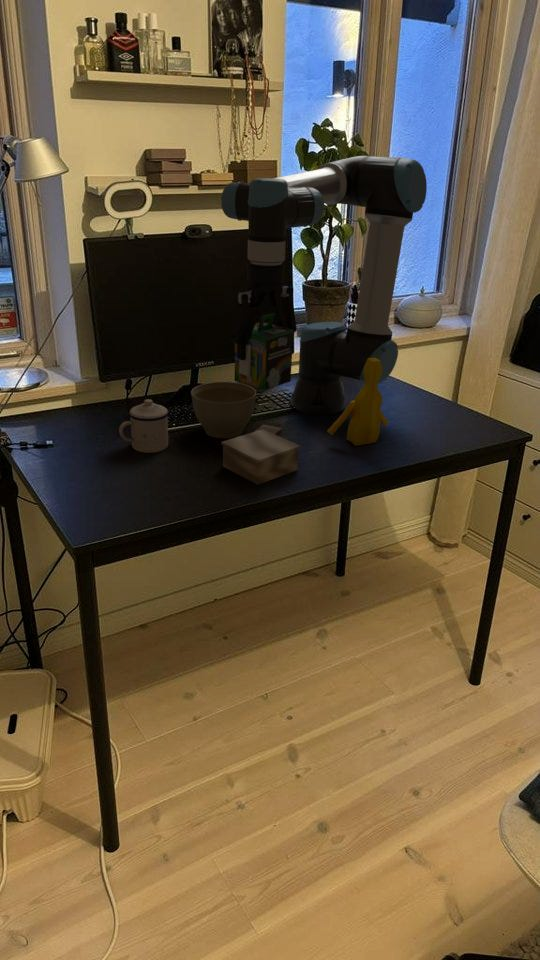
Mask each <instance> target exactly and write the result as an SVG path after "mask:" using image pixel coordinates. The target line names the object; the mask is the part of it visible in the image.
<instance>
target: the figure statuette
mask: <svg viewBox="0 0 540 960" xmlns="http://www.w3.org/2000/svg"><path fill="white" fill-rule="evenodd" d="M363 373H364V378H365V383H364V384H363V386H362V387H361V388H360V390H359V391H358V393H357V394H356V396H355V398H353V400H351V401H350V402H349V403H348V405H347V406H346V408H345V409H344V410H343V411H342V414H341V415H340V416H339V417H338V418H337V419H336V420H335V421H334V422H333V424H332V425H331V426H330V427H329V428H328V429H327V430H326V431H327V432H328V434H330V435H332V436H333V435H334V434H335V433H336V431H337V430H338V429H339V428H340V427H341V426H342V424H344V422H345V421H346V420H347V419H348V417H349V416H350V421H349V424H348V427H347V432H346V433H347V434H346V440H347V441H348V442H350V443H351V444H352V445H354V446H362V445H368V444H369V445H370V444H374V443H377V441H378V438H379V437H380V433H381V424H382V425H383V426H384V427H387V426H388V424H389V422H388V420H387V418H386V417H385V415H384V414H383V412H382V411H381V407H382V404H383V395H382V394H381V392H380V390H379V388H378V384H377V383H378V381H379V379H380V377H381V374H382V365H381V361H380V360H378V359H377V358H375V357H374V358H368V359H367V361H366V364H365V366H364V370H363Z"/></svg>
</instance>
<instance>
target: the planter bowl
mask: <svg viewBox="0 0 540 960" xmlns="http://www.w3.org/2000/svg"><path fill="white" fill-rule="evenodd" d="M190 396H191V399H192V401H191V402H192V407H193V411H194V414H195V416H196V418H197V420H198V422H199V423H200V425H201V426H202V427H203V429H204V432H205V434H206V435H207V436H209V437H212V438H215V439H233V438H236V437H239V436H242V435H243V433H244V432H243V431H244V428H245V427H246V426H247V425H248V424H249V421H250V420H251V418H252V415H253V414H254V409H255V404H256V397H257V390H256V389H255V387H253V386H250V385H247V384H243V383H240V382H236V381H234V382H233V381H212V382H206V383H203V384H200V385H197V386H195V387H193V388H192V389H191V391H190Z"/></svg>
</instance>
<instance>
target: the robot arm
mask: <svg viewBox="0 0 540 960" xmlns="http://www.w3.org/2000/svg"><path fill="white" fill-rule="evenodd" d="M426 176H427V175H426V173H425V170H424V168H423V166H422V164H421V163H420V162H419V161H418V160H416V159H412V158H405V157H393V156H392V157H391V156H390V157H388V156H370V155H358V156H352V157H347V158H343V159H339V160H334V161H331V162H325V163H323V164H321V165H319V167H318V169H313V170H310V171H303V172H299V173H294V174H290V175H284V176H279V177H274V178H272V177H271V178H267V177H266V178H263V177H262V178H261V177H257V178H256V177H255V178H254V179H252V180H251V181H250V182H243V181H238V182H229V183H228V184H227V185H225V187H224V188H223V190H222V192H221V197H220V200H221V201H220V203H221V209H222V212H223V213H224V215H225V216H226V217H227V218H229V219H232V220H237V221H239V222H241V221H245V222H248V223H247V224H248V225H247V226H248V234H247V260H248V261H249V262H248V263H247V266H246V267H247V268H246V273H247V274H246V280H247V282H248V288H247V290H246V291H244V292H240V291H237V292H236V294H235V308H234V312H233V318H232V324H231V326H230V332H229V337H228V340H229V342H232V343H234V344H235V343H237V358H238V359H239V373H241V374H243V375H246V376H250V361H251V345H250V344H248V341H249V339H250V336H251V334H252V331H253V329H254V326H255V324H256V323H257V322H258V319H259V316H260V315H262V313H263V311H265V310H268V309H269V310H270V313H275V318H274V321H273V322H274V325H277V326H280V327H284V328H288V329H292V330H294V332H293V333H296V332H297V330H298V328H297V320H296V313H295V306H294V301H293V296H294V295H293V294H294V288H293V286H287V285H282V283H284V281H285V267H286V266H285V264H284V261H285V260H286V238H287V235H286V234H287V229H293V228H294V229H295V228H301V227H303V228H307V227H309V226H311V225H315V224H317V223H318V222H319V221H320V220H321V219H322V217H323V215H324V212H325V205H327V206H334V205H338V204H340V205H348V206H355V207H361V208H363V207H364V209H365V210H364V215H365V217H366V219H367V220H368V222H369V224H368V231H367V236H366V245H365V249H364V251H365V252H364V258H363V264H362V270H361V276H360V283H359V289H358V296H357V297H358V298H357V304H356V309H355V316H354V320H353V321H352V322H351V323H350V324H349V325H348V326H347V329H346V327H345V324H344V323H342V322H339V321H321V322H314V323H313V322H312V323H309V324H306V325H305V326H303V327H302V329H301V331H300V340H299V359H298V360H299V362H298V377H297V381H296V383H295V387H294V390H293V393H292V394H291V397H290V405H291V404H292V405H293V406H294V407H295V408H296V411H298V412H301V413H304V414H309V415H315V416H327V415H334V414H338V413H340V412H343V411H345V409H346V408H345V407H346V397H345V395H344V393H343V392H344V391H343V390H344V389H343V386H342V381H341V379H342V377H345V378H348V379H352V380H356V381H360V382H362V383H364V384H365V378H364V373H363V370H364V366H365V364H366V361H367V359H368V358H374V357H375V358H377V359H378V360H380V361H381V365H382V374H381V377H380V379H379V381H378V383H377V385H378V384H381V383H383V382H385V381H386V380H387V378H389V376H390V375H391V374H392V372H393V370H394V368H395V366H396V364H397V361H398V357H399V356H398V355H399V348H398V347H399V346H398V344H397V342H395V341H394V340H393V339H392V338H393V330H391V328H390V327H389V321H390V315H391V308H392V303H393V297H394V291H395V286H396V279H397V274H398V273H397V272H398V268H399V260H400V255H401V250H402V244H403V238H404V233H405V227H406V226H408V224H409V223H411V222H412V220H413V216H414V215H413V214H415V213H419V211H421V210H422V208H423V206H424V204H425V202H426V199H427V198H426V197H427V190H428V188H427V187H428V186H427V177H426ZM243 337H244V338H243Z"/></svg>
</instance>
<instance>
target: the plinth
mask: <svg viewBox="0 0 540 960" xmlns="http://www.w3.org/2000/svg"><path fill="white" fill-rule="evenodd" d="M220 445H221V446H222V457H223V458H222V467H223V468H226V469H227V470H229V471H231V472H233V473H235V474H236V475H239V476H241V477H242V478H244V479H245V480H246V479H247V480H248V481H250V482H252V483H254V484H255V485H261V484H263V483H266V482H269V481H272V480H274V479H277V478H280V477H283V476H285V475H288V474H291V473H293V472H297V471H298V466H299V465H298V464H299V450H300V449H301V447H302V446H301V445H299V444H298V443H295V442H292V441H290V440H288V439H287V438H284V437H283V436H282V437H280V436H277V435H275V434H273V433H271V432H268V431H266V430H264V429H262V430H259V431H256V432H254V431H253V432H249V433H246V434H241V435H239V436H237V437H233V438H228V439H226V440H224V441H221V443H220Z"/></svg>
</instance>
